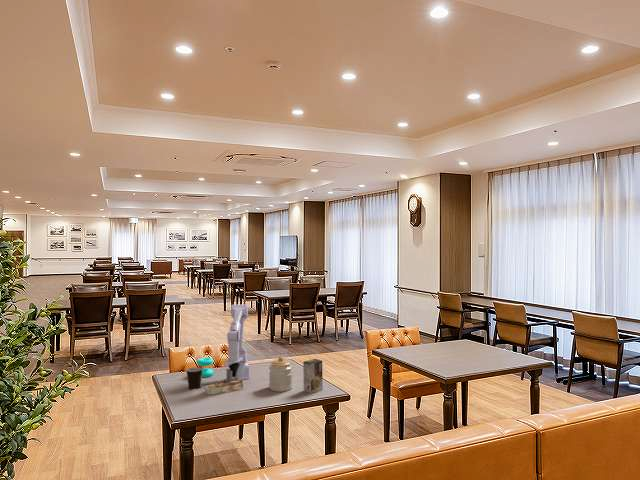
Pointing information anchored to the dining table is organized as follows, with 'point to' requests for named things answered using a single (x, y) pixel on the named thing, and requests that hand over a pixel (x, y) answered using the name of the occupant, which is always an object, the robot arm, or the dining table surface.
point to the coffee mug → (194, 377)
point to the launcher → (230, 385)
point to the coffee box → (312, 375)
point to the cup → (212, 390)
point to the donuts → (205, 362)
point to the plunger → (228, 376)
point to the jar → (280, 375)
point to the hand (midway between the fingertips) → (233, 376)
